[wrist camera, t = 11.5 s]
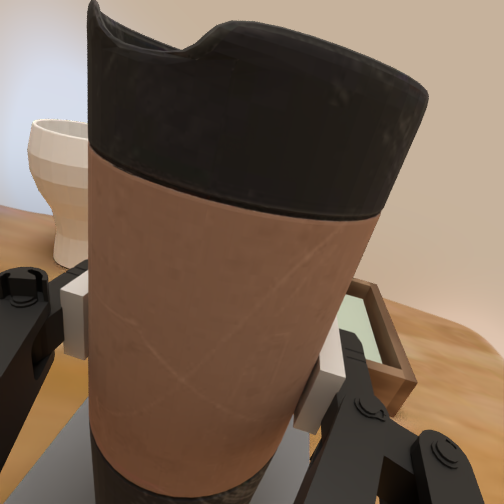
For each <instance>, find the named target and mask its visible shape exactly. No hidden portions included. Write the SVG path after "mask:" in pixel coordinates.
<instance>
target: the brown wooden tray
mask: <svg viewBox="0 0 504 504" xmlns="http://www.w3.org/2000/svg"><path fill="white" fill-rule="evenodd" d="M346 295H350V296H353V297H357V298H360V299H363V302H364V305H365V308H366V312H367V315H368V318H369V321H370V325H371V328H372V331H373V335H374V338H375V341H376V345H377V348H378V351H379V354H380V358H381V361H382V364H381V363H378V362H375V361H371V360H368V359H366V364H367V366H368V371H369V375H370V379H371V383H372V387H373V391H374V396H376V397H377V398H378V399H379V400H380V401H381V402H382V403H383V404H384V406H385V407H386V409H387V411H388V413H389V416H391V417H394V416H395V415H396V413H397V412H398V410H399V409H400V408H401V406H402V405H403V403H404V402H405V400H406V399H407V397H408V396H409V395H410V393H411V392H412V390H413V389H414V387H415V386H416V385H417V380H416V378H415V375H414V373H413V371H412V368H411V366H410V363H409V361H408V358H407V356H406V354H405V351H404V349H403V346H402V344H401V342H400V339H399V337H398V334H397V332H396V330H395V327H394V325H393V322H392V320H391V317H390V315H389V313H388V310H387V308H386V305H385V303H384V301H383V298H382V296H381V294H380V291H379V289H378V286H377V285H376V284H373V283H370V282H367V281H363V280H360V279H356V278H353V279H352V281H351V283H350V285H349V288H348V290H347V292H346Z"/></svg>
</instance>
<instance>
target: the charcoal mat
mask: <svg viewBox="0 0 504 504" xmlns="http://www.w3.org/2000/svg"><path fill="white" fill-rule="evenodd" d="M293 420H294V415H292V418H291V420H290V422H289V425H288V427H287V429H286V431H285V434H284V436H283V438H282V441H281V443H280V445H279V446H278V449H277V451H276V453H275V455H274V457H273V459H272V460H271V462H270V464H269V466H268V468H267V470H266V472H265V474H264V476H263V478H262V480H261V482H260V483H259V485H258V487H257V489H256V491H255V493H254V495H253V497H252V499H251V501H250V503H249V504H293V503H294V500H295V498H296V496H297V493H298V491H299V488H300V486H301V484H302V481H303V479H304V476H305V474H306V471H307V469H308V467H309V433H308V432H305V431H302V430H299V429H296V428H293ZM4 504H95V492H94V479H93V466H92V453H91V440H90V428H89V396H88V398H87V399H86V400H85V401H84V403H83V404H82V405H81V406H80V408H79V409H78V410H77V411H76V413H75V414H74V415H73V416H72V418H71V419H70V420H69V422H68V423H67V424H66V425H65V427H64V428H63V429H62V430H61V432H60V433H59V434H58V435H57V437H56V438H55V439H54V441H53V442H52V443H51V444H50V446H49V447H48V448H47V449H46V451H45V452H44V453H43V454H42V456H41V457H40V458H39V459H38V461H37V462H36V463H35V465H34V466H33V467H32V468H31V470H30V471H29V472H28V473H27V475H26V476H25V477H24V478H23V480H22V481H21V482H20V483H19V485H18V486H17V487H16V489H15V490H14V491H13V492H12V494H11V495H10V496H9V497H8V499H7V500H6V501H5V502H4Z"/></svg>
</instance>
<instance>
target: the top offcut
mask: <svg viewBox="0 0 504 504" xmlns="http://www.w3.org/2000/svg"><path fill="white" fill-rule="evenodd" d="M337 320H338V327H339V328H340V329H343V330H346V331H350V332H353V333H355V334H356V335H357V337H358V338H359V340H360V341H361V343H362V345H363V350H364V355H365V358H366V359H368V360H371V361H375V362H378V363H381V364H382V361H381V358H380V354H379V351H378V348H377V345H376V341H375V338H374V335H373V331H372V328H371V325H370V321H369V318H368V315H367V312H366V308H365V305H364V302H363V299H360V298H357V297H353V296H350V295H345V297H344V299H343V301H342V304H341V306H340V308H339V311H338V313H337Z"/></svg>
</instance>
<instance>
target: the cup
mask: <svg viewBox="0 0 504 504" xmlns="http://www.w3.org/2000/svg"><path fill="white" fill-rule="evenodd" d="M27 150H28V160H29V169H30V172H31V174H32V176H33V179H34V181H35V183H36V185H37V188H38V190H39V191H40V193H41V194H42V196H43V197H44V199H45V200H46V201H47V203H48V204H49V206H50V207H51V209H52V212H53V216H54V221H55V225H56V229H57V230H56V236H55V243H54V255H53V258H54V259H55V261H56V262H57V263H58V264H60V265H61V266H64V267H66V268H70V269H71V268H72V267H73V268H74V266H76V265H77V264H79V263H80V262H82V261H84V260H86V259H88V123H84V122H77V121H70V120H58V119H39V120H35V121H33V123H32V127H31V132H30V138H29V143H28V149H27Z"/></svg>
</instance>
